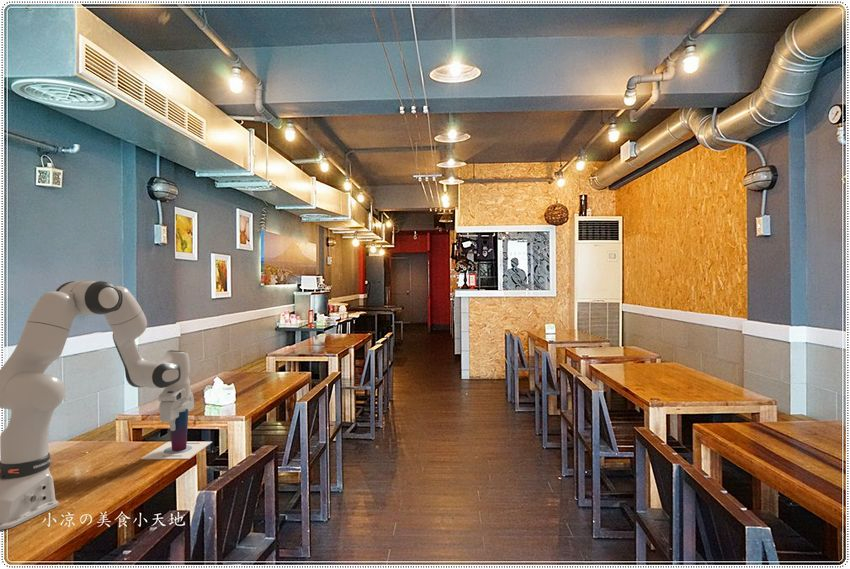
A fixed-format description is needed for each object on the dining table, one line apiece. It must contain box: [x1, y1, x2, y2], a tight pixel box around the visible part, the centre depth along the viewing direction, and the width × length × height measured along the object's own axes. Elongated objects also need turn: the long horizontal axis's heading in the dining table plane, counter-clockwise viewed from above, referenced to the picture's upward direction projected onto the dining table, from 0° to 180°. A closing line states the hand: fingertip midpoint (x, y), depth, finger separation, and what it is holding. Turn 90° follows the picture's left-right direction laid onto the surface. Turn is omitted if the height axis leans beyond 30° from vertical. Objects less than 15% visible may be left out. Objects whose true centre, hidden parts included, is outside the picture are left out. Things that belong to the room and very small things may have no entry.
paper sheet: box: [140, 441, 213, 460], centre depth 200 cm, size 20×18×1 cm
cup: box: [169, 409, 189, 451], centre depth 200 cm, size 7×7×15 cm
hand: (178, 427), depth 200 cm, fingers closed on cup, 6 cm apart
